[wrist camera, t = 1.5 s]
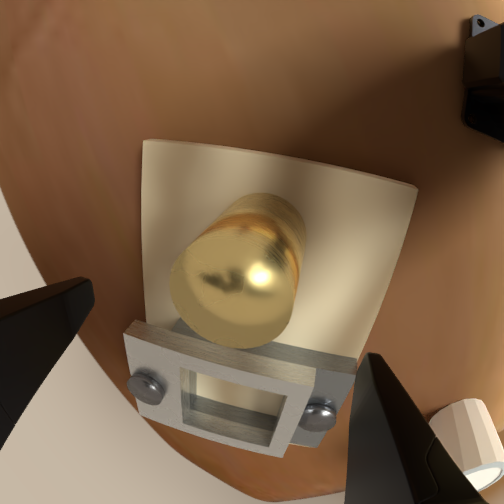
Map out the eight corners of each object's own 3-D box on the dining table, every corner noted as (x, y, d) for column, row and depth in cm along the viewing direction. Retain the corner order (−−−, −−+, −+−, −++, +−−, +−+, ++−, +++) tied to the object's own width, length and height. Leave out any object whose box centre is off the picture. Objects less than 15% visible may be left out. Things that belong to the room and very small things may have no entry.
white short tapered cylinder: (504, 394, 18) (526, 458, 12) (464, 440, 21) (473, 499, 15) (446, 391, 19) (462, 466, 13) (406, 439, 22) (410, 505, 16)
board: (413, 184, 14) (418, 189, 13) (312, 438, 24) (311, 447, 23) (152, 138, 16) (143, 140, 15) (161, 398, 26) (156, 405, 25)
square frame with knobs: (357, 358, 18) (358, 402, 15) (319, 432, 22) (314, 469, 19) (145, 306, 20) (117, 338, 17) (154, 388, 24) (135, 419, 21)
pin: (314, 202, 15) (305, 255, 9) (297, 282, 17) (279, 360, 11) (225, 185, 15) (169, 226, 10) (217, 264, 17) (170, 330, 12)
